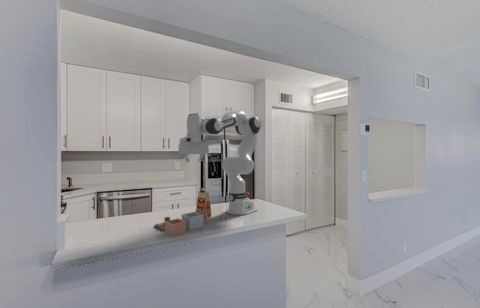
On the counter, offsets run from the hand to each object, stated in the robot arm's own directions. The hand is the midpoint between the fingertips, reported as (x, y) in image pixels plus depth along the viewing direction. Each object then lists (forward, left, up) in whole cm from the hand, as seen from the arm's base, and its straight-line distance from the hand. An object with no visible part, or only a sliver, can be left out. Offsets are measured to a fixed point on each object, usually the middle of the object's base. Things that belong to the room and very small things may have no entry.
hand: (194, 161), depth 148 cm
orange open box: (+19, +11, -37) cm, 43 cm away
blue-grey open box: (+7, +9, -37) cm, 39 cm away
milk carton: (-8, -2, -37) cm, 38 cm away
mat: (+18, -1, -37) cm, 41 cm away
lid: (+18, -1, -36) cm, 41 cm away
